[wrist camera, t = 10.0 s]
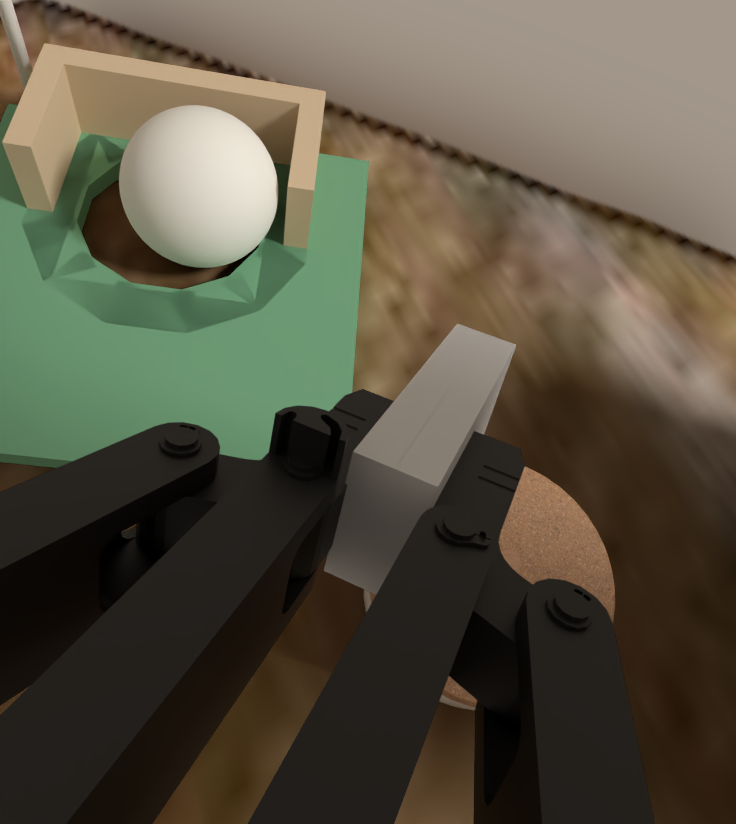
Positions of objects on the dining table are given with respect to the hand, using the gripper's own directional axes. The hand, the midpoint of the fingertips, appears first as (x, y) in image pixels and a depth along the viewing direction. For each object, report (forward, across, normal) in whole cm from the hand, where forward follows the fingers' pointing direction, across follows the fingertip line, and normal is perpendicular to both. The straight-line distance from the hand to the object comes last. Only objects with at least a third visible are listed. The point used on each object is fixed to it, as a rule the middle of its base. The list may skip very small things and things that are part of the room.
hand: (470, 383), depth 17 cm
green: (+19, -22, -10) cm, 31 cm away
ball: (+20, -21, -4) cm, 29 cm away
